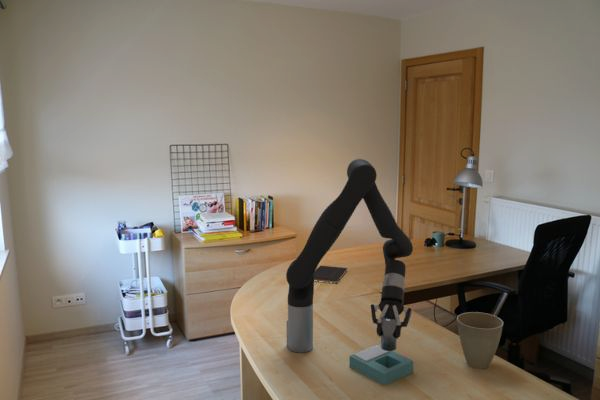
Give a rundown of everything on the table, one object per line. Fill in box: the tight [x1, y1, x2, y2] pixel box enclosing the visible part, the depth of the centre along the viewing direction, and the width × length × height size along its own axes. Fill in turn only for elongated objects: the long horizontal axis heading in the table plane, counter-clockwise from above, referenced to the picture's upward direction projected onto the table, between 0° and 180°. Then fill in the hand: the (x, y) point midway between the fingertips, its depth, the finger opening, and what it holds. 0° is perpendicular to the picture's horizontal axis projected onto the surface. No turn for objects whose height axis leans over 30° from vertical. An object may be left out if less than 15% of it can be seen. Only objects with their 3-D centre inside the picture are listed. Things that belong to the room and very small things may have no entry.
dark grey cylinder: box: [380, 316, 397, 352], centre depth 168 cm, size 5×5×10 cm
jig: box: [349, 344, 414, 387], centre depth 172 cm, size 16×14×5 cm
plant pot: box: [456, 311, 504, 370], centre depth 175 cm, size 15×15×16 cm
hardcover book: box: [314, 265, 348, 284], centre depth 273 cm, size 16×23×2 cm
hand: (388, 336), depth 166 cm, fingers closed on dark grey cylinder, 5 cm apart
